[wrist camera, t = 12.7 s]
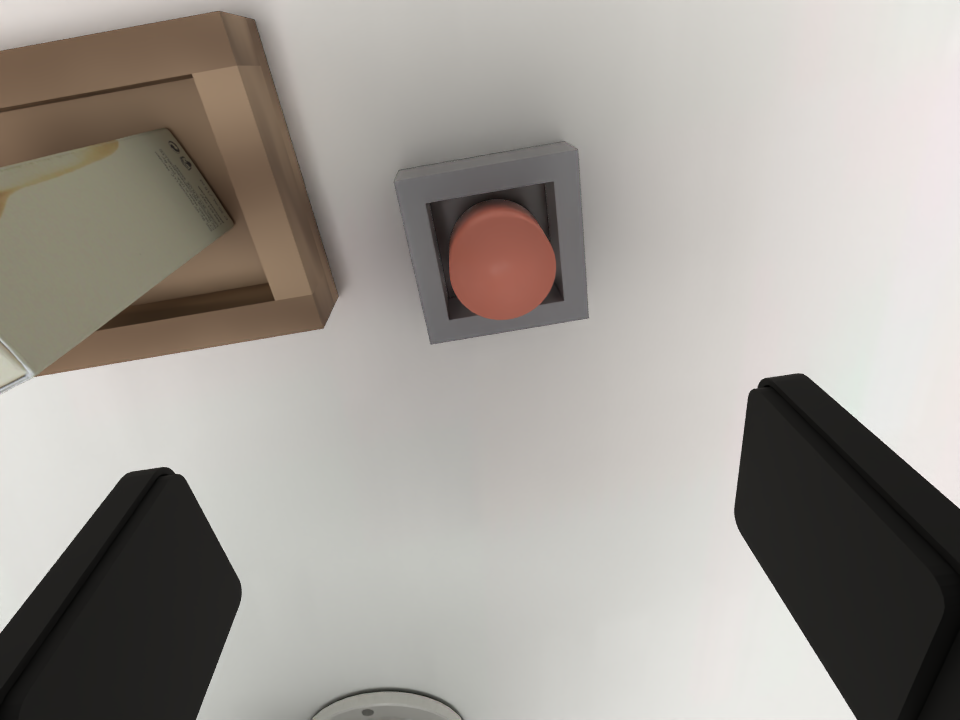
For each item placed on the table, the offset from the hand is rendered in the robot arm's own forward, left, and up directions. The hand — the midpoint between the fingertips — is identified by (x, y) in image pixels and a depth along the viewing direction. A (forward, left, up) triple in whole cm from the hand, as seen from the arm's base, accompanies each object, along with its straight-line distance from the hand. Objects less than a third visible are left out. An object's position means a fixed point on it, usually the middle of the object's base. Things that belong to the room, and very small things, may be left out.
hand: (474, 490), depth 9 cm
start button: (-1, -2, -15) cm, 15 cm away
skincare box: (+3, +12, -16) cm, 20 cm away
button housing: (-1, -2, -17) cm, 17 cm away
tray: (+3, +12, -17) cm, 21 cm away
